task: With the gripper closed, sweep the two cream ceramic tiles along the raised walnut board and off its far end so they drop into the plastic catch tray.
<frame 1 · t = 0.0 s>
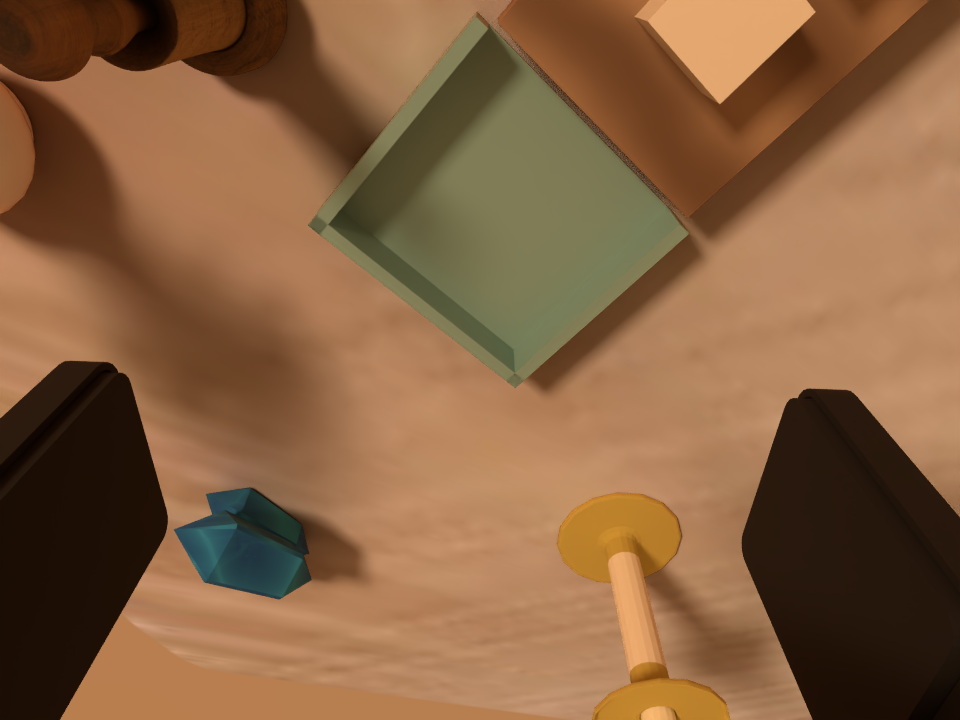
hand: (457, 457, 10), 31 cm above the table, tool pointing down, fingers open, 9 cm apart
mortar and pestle: (226, 2, 34), on the table
tile b: (711, 12, 31), point 4 cm above the table, touching board
crystal: (265, 507, 53), on the table
candle: (618, 536, 54), on the table
tray: (497, 209, 40), on the table
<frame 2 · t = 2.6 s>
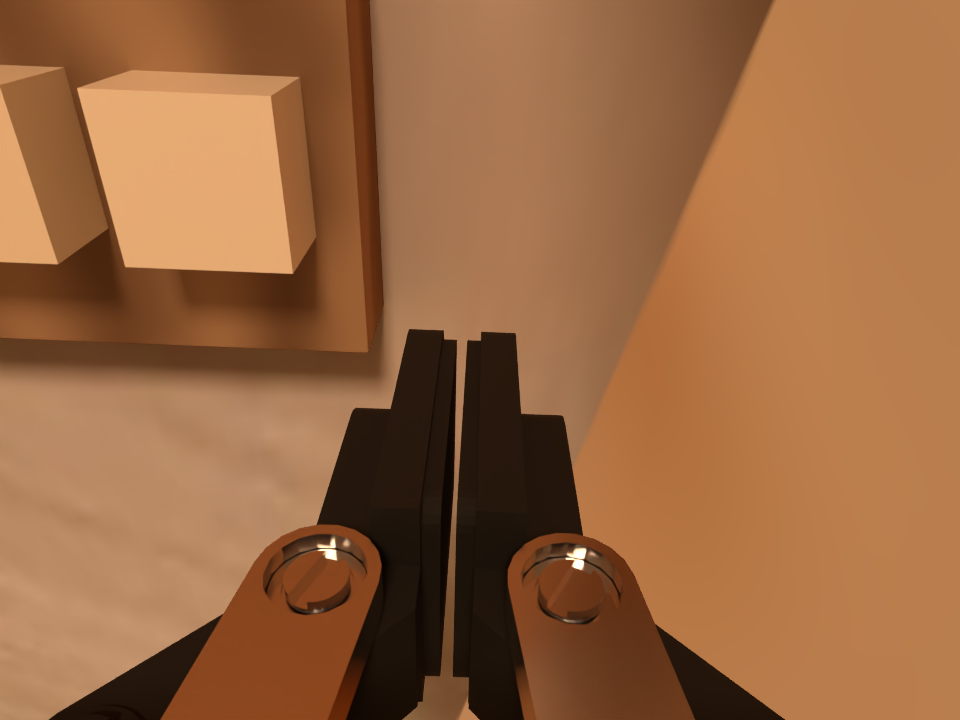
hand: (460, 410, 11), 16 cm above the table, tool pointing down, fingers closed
tile a: (229, 158, 21), point 4 cm above the table, touching board
tile b: (8, 149, 21), point 4 cm above the table, touching board
board: (131, 124, 24), on the table
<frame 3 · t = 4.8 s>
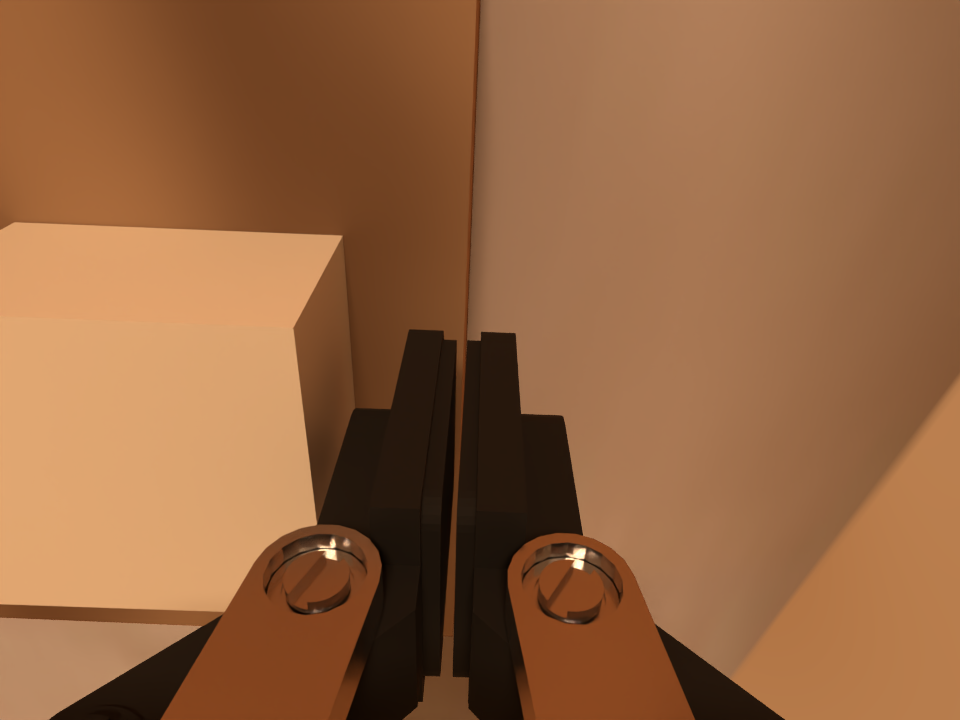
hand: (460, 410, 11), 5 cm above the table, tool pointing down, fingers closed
tile a: (207, 367, 11), point 4 cm above the table, touching gripper
board: (67, 262, 15), on the table
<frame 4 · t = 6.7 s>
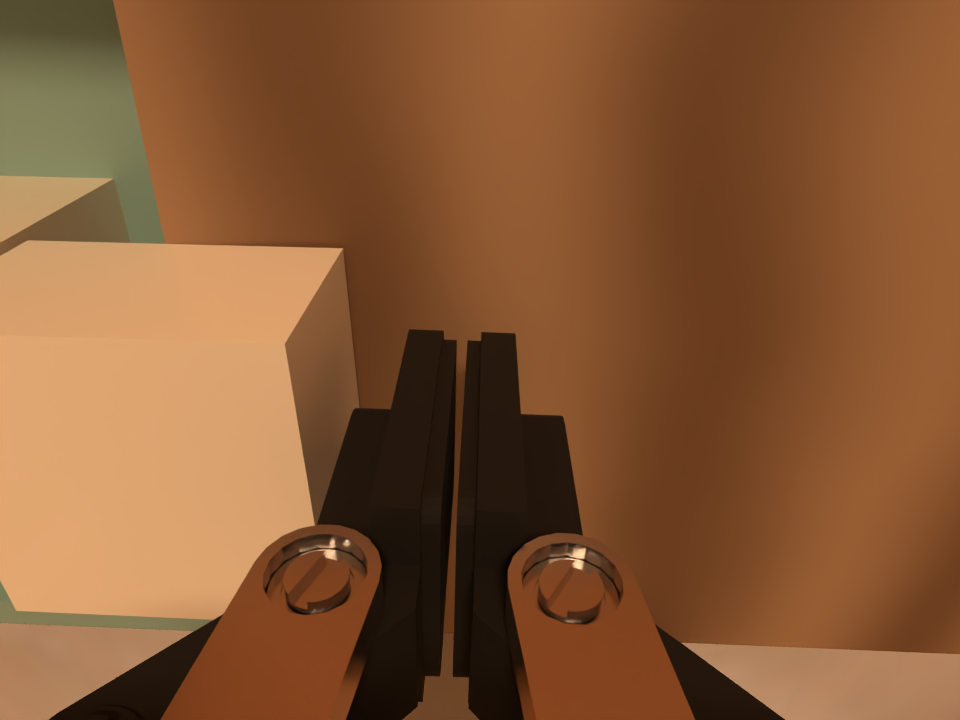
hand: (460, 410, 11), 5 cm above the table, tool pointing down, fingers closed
tile a: (215, 379, 12), point 4 cm above the table, touching gripper
tile b: (83, 347, 12), point 3 cm above the table, tilted 90°, touching tray
board: (658, 288, 15), on the table
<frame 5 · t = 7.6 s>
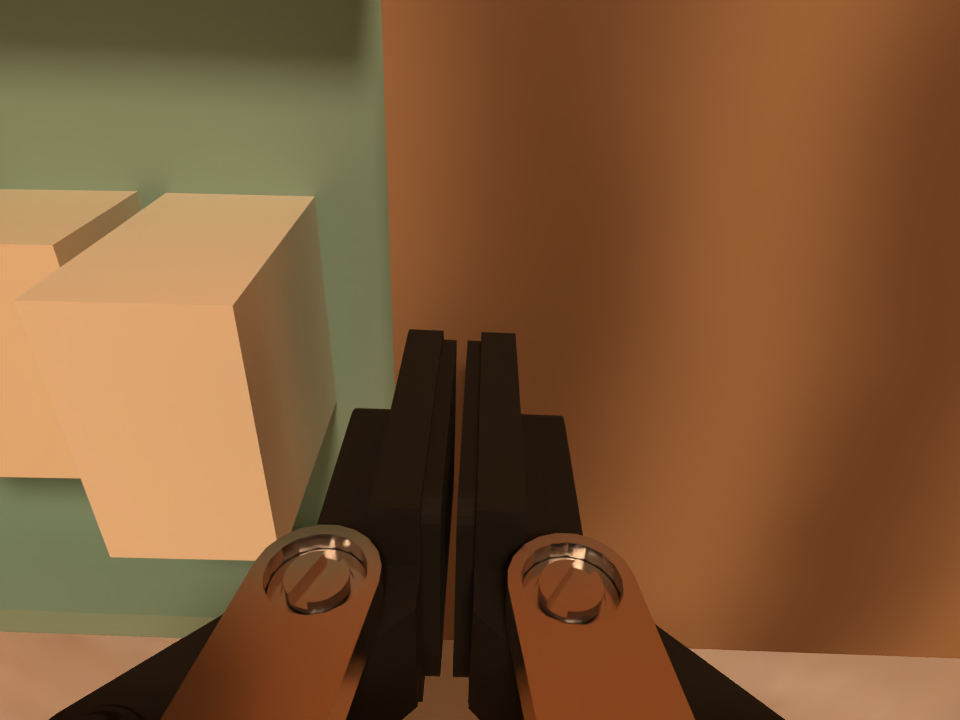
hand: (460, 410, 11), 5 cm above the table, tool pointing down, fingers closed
tile a: (298, 366, 12), point 3 cm above the table, tilted 90°, touching tray
board: (815, 299, 15), on the table
tray: (82, 269, 15), on the table
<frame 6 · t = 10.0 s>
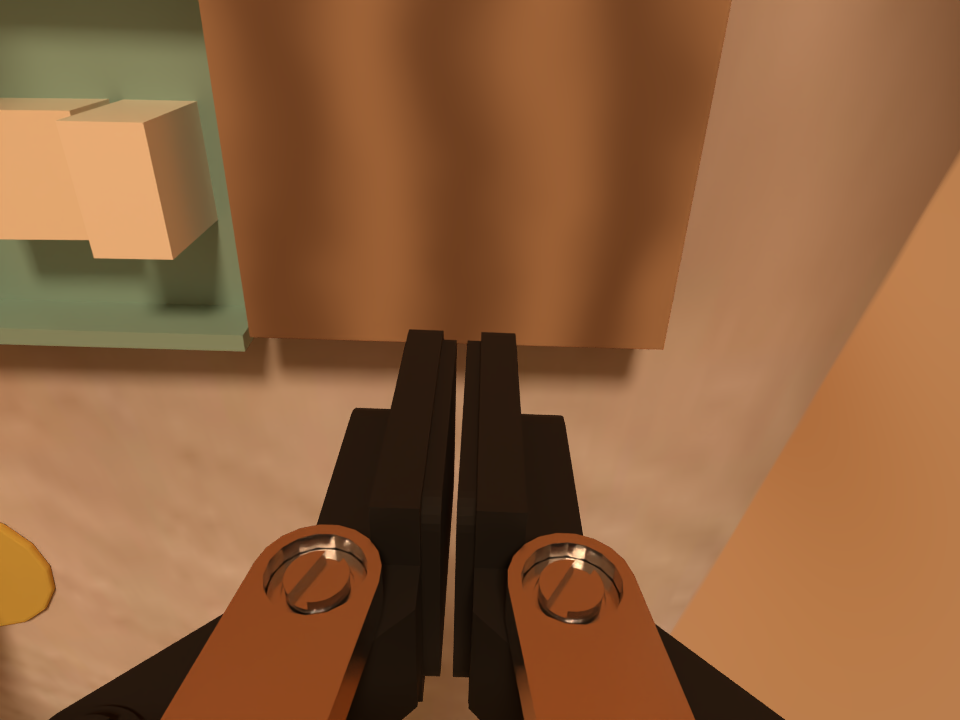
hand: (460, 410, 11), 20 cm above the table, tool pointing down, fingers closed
tile a: (185, 177, 26), point 3 cm above the table, tilted 90°, touching tray
tile b: (23, 177, 26), point 3 cm above the table, tilted 180°, touching tray
board: (463, 158, 29), on the table
tray: (80, 145, 28), on the table
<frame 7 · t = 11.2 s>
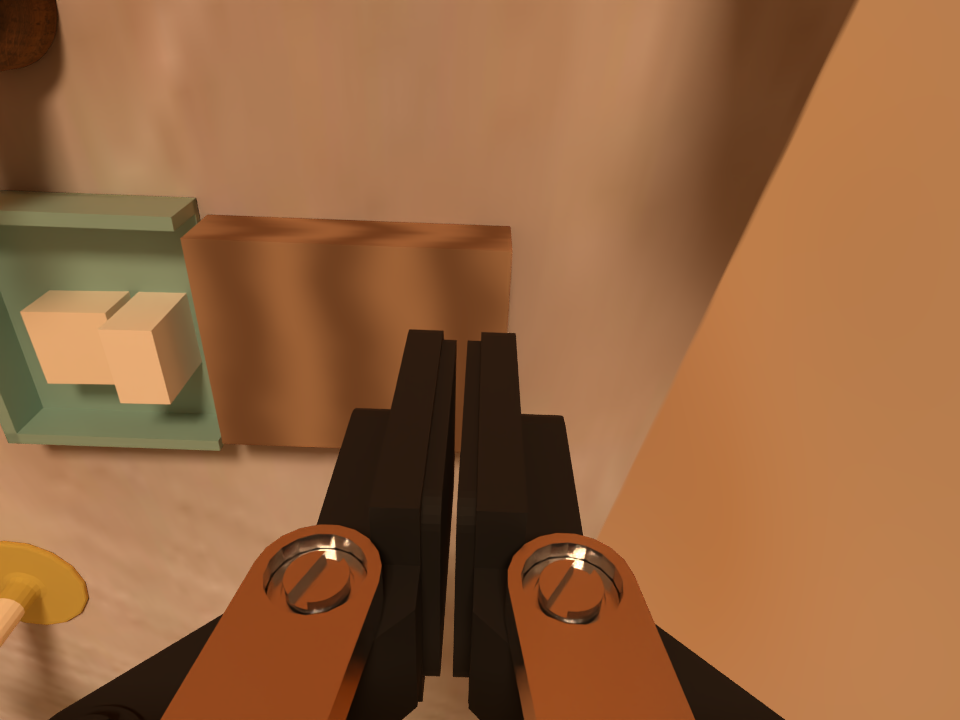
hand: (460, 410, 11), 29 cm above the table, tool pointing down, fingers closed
tile a: (178, 347, 40), point 3 cm above the table, tilted 90°, touching tray
tile b: (75, 349, 40), point 3 cm above the table, tilted 180°, touching tray
candle: (29, 581, 56), on the table
board: (365, 324, 43), on the table
tray: (110, 315, 43), on the table
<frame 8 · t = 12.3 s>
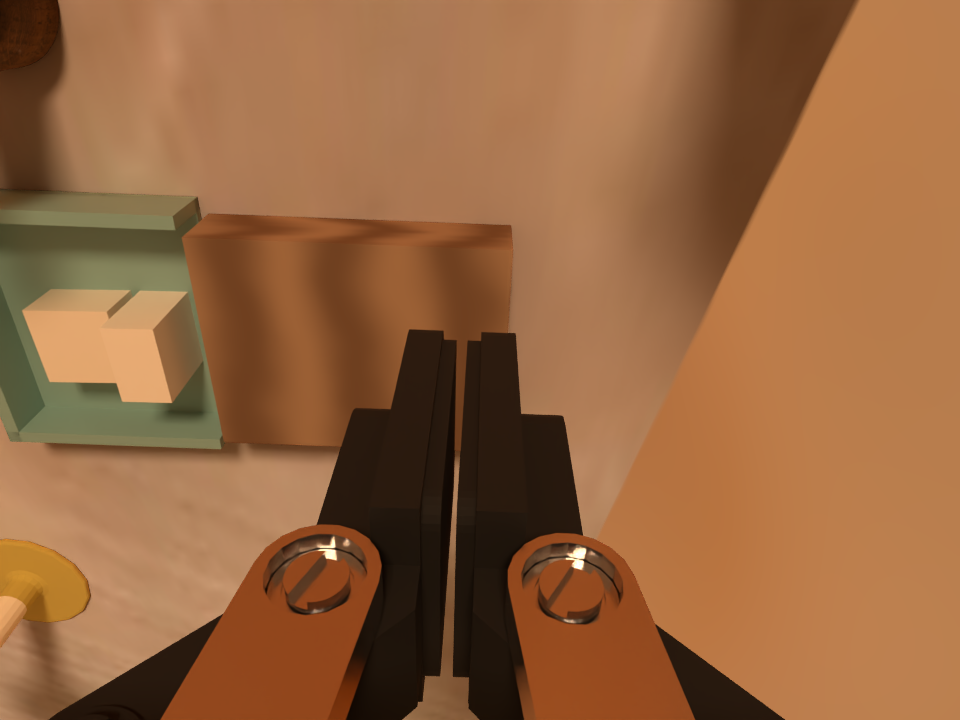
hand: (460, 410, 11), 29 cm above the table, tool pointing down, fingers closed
tile a: (180, 346, 40), point 3 cm above the table, tilted 90°, touching tray
tile b: (77, 348, 40), point 3 cm above the table, tilted 180°, touching tray
candle: (31, 579, 56), on the table
board: (366, 323, 43), on the table
tray: (111, 314, 43), on the table
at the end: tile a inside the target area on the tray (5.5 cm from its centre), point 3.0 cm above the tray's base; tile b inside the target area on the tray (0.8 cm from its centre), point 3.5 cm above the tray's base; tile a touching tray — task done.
